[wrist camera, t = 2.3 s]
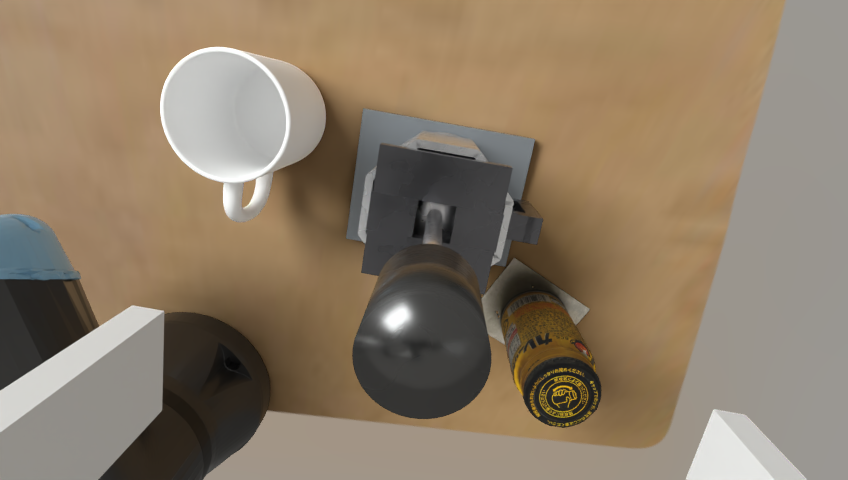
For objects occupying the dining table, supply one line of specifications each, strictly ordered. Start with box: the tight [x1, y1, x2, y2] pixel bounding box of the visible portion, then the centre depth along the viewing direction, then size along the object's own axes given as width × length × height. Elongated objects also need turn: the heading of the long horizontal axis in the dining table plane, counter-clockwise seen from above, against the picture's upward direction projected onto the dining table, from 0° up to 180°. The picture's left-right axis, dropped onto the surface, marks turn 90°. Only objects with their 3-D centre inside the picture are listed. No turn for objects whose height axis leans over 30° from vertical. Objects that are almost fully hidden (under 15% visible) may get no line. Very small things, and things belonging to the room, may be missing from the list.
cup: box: [160, 47, 326, 222], centre depth 36 cm, size 8×12×10 cm
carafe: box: [358, 131, 543, 294], centre depth 35 cm, size 12×10×11 cm
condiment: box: [482, 258, 601, 428], centre depth 38 cm, size 7×8×12 cm
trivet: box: [346, 108, 535, 267], centre depth 41 cm, size 14×11×1 cm
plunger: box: [352, 200, 491, 419], centre depth 23 cm, size 7×7×19 cm
